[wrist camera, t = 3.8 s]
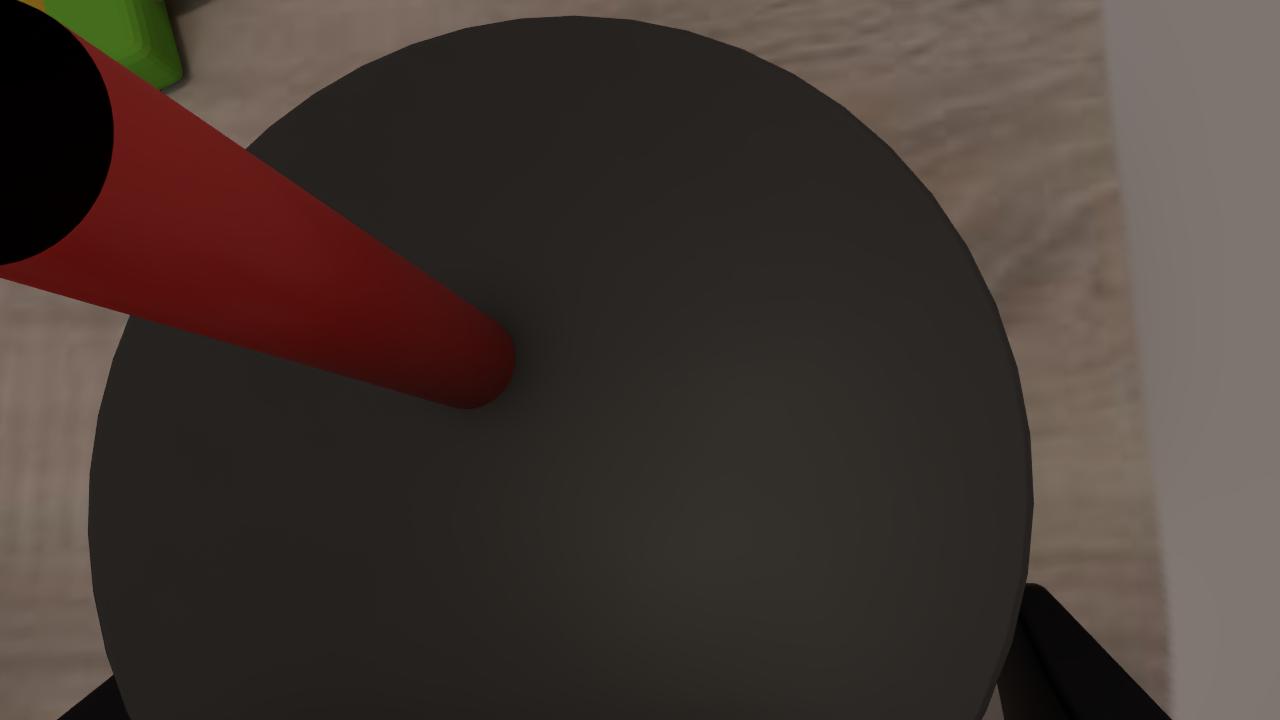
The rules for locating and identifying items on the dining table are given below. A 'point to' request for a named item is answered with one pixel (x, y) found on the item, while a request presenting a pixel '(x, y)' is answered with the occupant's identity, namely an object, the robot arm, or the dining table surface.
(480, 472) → the cup with straw
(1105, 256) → the dining table surface
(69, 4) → the popsicle
